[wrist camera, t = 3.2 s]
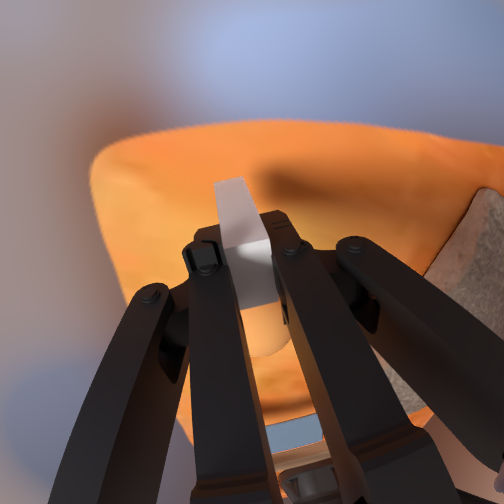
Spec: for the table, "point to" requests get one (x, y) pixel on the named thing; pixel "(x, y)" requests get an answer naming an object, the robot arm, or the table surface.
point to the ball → (265, 329)
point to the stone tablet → (467, 276)
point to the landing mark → (294, 433)
